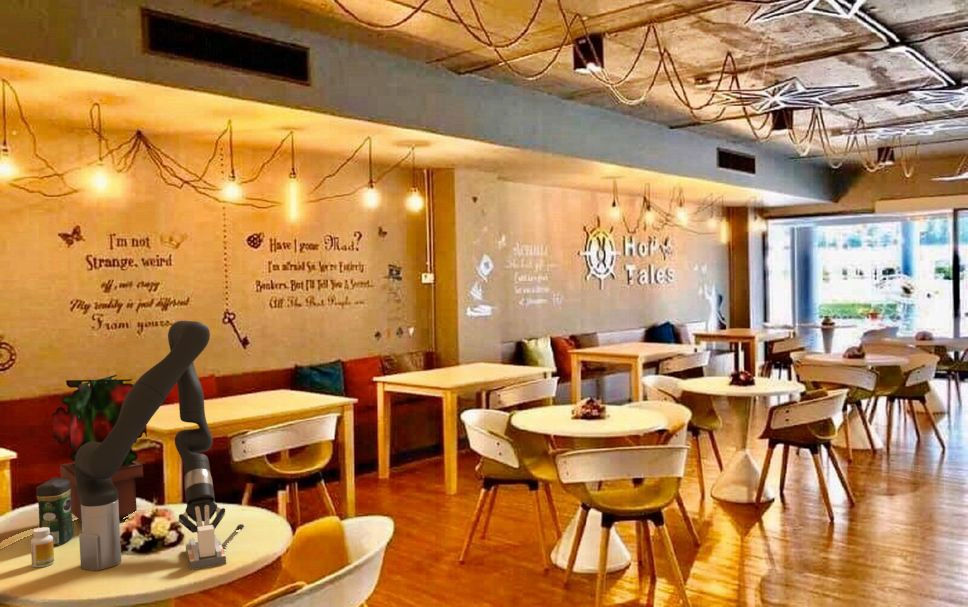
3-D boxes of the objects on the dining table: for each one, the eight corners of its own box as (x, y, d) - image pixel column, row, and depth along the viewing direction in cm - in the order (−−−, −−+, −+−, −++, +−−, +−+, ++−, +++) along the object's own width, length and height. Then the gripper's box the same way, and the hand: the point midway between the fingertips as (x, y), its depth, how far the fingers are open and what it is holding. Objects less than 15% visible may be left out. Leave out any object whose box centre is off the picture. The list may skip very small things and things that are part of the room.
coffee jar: (51, 536, 245) (47, 476, 244) (77, 535, 245) (74, 475, 244) (34, 548, 235) (31, 484, 234) (62, 547, 235) (58, 483, 234)
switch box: (185, 550, 229) (185, 538, 229) (219, 545, 233) (218, 533, 233) (190, 569, 215) (190, 556, 215) (226, 563, 219) (225, 551, 218)
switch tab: (198, 553, 221) (197, 526, 220) (213, 550, 222) (212, 524, 222) (199, 557, 217) (198, 531, 217) (215, 555, 219) (214, 528, 218)
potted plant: (129, 504, 277) (122, 372, 274) (150, 518, 260) (144, 379, 257) (57, 518, 262) (50, 380, 260) (75, 535, 246) (67, 387, 243)
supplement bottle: (59, 561, 223) (57, 527, 223) (42, 568, 218) (40, 533, 218) (43, 559, 225) (42, 525, 225) (27, 566, 220) (25, 531, 219)
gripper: (174, 484, 227) (179, 541, 217) (223, 478, 233) (231, 533, 222) (174, 498, 232) (179, 554, 222) (222, 492, 238) (229, 546, 227)
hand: (205, 543), depth 222 cm, fingers closed
